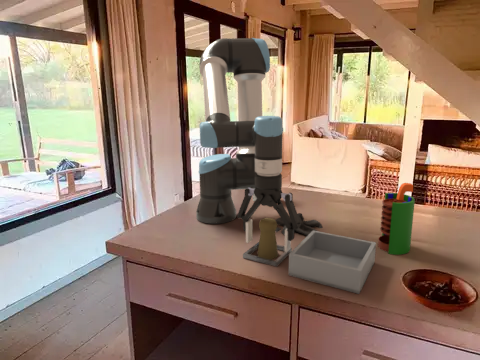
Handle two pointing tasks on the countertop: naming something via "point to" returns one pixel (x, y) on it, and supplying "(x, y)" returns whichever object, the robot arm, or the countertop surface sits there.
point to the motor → (397, 221)
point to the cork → (267, 239)
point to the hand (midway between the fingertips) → (267, 245)
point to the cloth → (304, 227)
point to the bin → (333, 260)
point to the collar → (264, 260)
